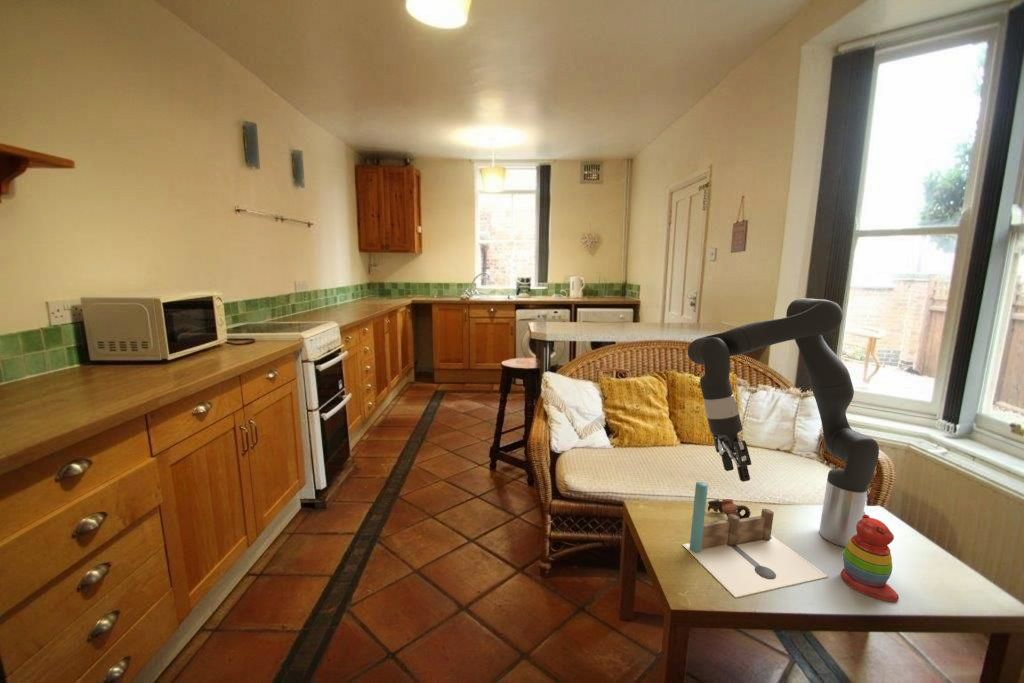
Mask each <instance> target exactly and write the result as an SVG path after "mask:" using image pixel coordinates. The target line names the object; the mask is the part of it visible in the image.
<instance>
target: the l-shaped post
mask: <svg viewBox="0 0 1024 683" xmlns="http://www.w3.org/2000/svg"><path fill="white" fill-rule="evenodd" d="M708 487H709V485H708V484H707V483H706V482H703V481H697V482H696V483H695V487H694V488H695V489H694V501H693V510H692V519H691V520H692V521H691V529H690V530H691V532H690V539H689V540H690V541H689V543H690V549H691V550H692V551H695V552H700V551H701V549H704V548H710V547H715V546H721V545H726V544H727V542H728V533H729V525H730V522H729V521H728V520H727V519H723V520H716V521H712V522H711V521H710V522H706V523H705V518H706V510H707V508H706V507H707V498H708Z"/></svg>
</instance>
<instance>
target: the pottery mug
mask: <svg viewBox="0 0 1024 683" xmlns="http://www.w3.org/2000/svg"><path fill="white" fill-rule="evenodd" d="M707 503H708V507H707V512H710V511H711V509H712V510H713V512H715V513H721V514H724V515H726V517H727V518H728V515H729V514H734V515H736V516H738V517H739V518H740V519H743V518H749V517H751V512H752V511H750V509H749V507H748V506H746V505H738V504H735V503H734V500H733V499H731V498H729V499H728V498H727V499H722V500H719V499H715V500H714V499H713V500H710V501H707ZM742 511H744V514H743V515H742V514H741V512H742Z"/></svg>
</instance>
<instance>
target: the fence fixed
mask: <svg viewBox="0 0 1024 683" xmlns="http://www.w3.org/2000/svg"><path fill="white" fill-rule="evenodd" d="M760 514H761V515H757V516H749V518H743V519H740V518H739V517H738V516H736V515H734V514H729V515H728V517H727V519H726V520H728V521H729V522H730V525H729V533H728V542H727V544H726V545H728V546H730V547H735V546H737V544H739V543H744V542H750V541H755V540H760V539H763V540H765V541H769V540H770V538H771V535H772V530H773V529H772V528H773V523H774V522H773V521H774V514H775V513H774V511H772V510H771V509H768V508H763V509H761V513H760Z"/></svg>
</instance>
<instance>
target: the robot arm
mask: <svg viewBox="0 0 1024 683" xmlns="http://www.w3.org/2000/svg"><path fill="white" fill-rule="evenodd" d="M785 314H786V315H785V317H780V318H775V319H774V318H773V319H768V320H761V321H760V320H759V321H755V322H751V323H747V324H743V325H740V326H737V327H735V328H731V329H729V330H727V331H724V332H719V333H714V334H710V335H706V336H702V337H699V338H696V339H694V340H693V341H692V342H690V343H689V345H688V348H687V357H688V358H689V360H690V361H692V363H695V364H697V365H700V366H701V365H702V366H704V375H702V376H701V377H700V379H699V385H700V389H701V394H702V399H703V404H704V410H705V414H706V418H707V424H708V427H709V431H710V433H711V435H712V438H713V444H714V447H715V448H714V449H715V452H716V453H718V455H719V457H720V458H721V462H722V464H723V469H724V471H726V472H729V471H733V470H734V464H735V466H736V469H737V474H738V477H739V478H738V479H739V481H741V482H743V483H745V482H748V481H751V477H750V472H749V467H748V466H751V465H752V461H751V456H750V452H749V448H748V445H747V442H746V440H745V439H743V440H740V438H739V436H738V433H740V432H742V430H743V425H742V421H741V417H740V413H739V408H738V404H737V400H736V398H735V395H734V393H733V389H732V384H731V381H730V370H731V369H730V368H731V357H732V356H735V357H736V356H741V355H744V354H748V353H750V352H753V351H757V350H761V349H763V348H766V347H769V346H772V345H776V344H779V343H780V344H781V343H785V342H788V341H792V340H793V341H795V344H796V346H797V348H798V351H799V353H800V356H801V359H802V362H803V364H804V365H803V366H804V368H805V370H806V373H807V377H808V381H809V384H810V385H809V386H810V388H811V391H812V394H813V396H814V399H815V403H816V406H817V409H818V413H819V418H820V422H821V427H822V432H823V438H824V439H823V440H824V445H825V446H826V450H827V451H828V452H829V453H830V454H831V456H833V457H835V458H837V459H839V460H841V461H843V462H844V463H845V466H844V468H833V469H830V470H829V471H828V473H827V479H826V486H825V492H824V498H823V505H822V510H821V511H822V512H821V515H820V524H819V531H818V533H819V535H820V537H822V538H823V539H825V540H826V541H828V542H829V543H832V544H835V545H837V546H840V547H844V548H845V547H846V545H847V543H848V541H849V540H850V538H852V537H853V536H854V535H856V534H857V530H856V526H857V523H858V522H859V521H860V520H861V519H862V516H863V515H865V514H866V512H865V506H866V501H867V495H868V490H869V486H870V484H871V482H872V481H873V478H874V476H875V471H876V467H877V464H878V460H879V454H880V447H879V444H878V442H877V441H876V440H875V439H874V438H872V437H870V436H868V435H866V434H863V433H861V432H859V431H857V430H853V429H852V428H851V426H850V424H849V422H848V418H847V410H848V408H849V406H850V405H851V403H852V401H853V398H854V395H855V389H854V385H853V382H852V378H851V375H850V372H849V369H848V367H846V365H845V364H844V362H843V361H842V360H841V358H839V357H838V355H837V354H836V353H835V352H834V351H833V350H832V349H831V348H830V347H829V345H828V344H827V343H826V341H825V339H824V337H823V335H826V334H831V333H832V332H834V331H835V330H838V328H839V327H840V325H841V323H842V321H843V317H844V316H843V315H844V313H843V309H842V308H841V307H840V305H839V304H838V303H837V302H835V301H831V300H828V299H821V298H804V297H802V298H796V299H794V300H793V301H791V302H790V303H789V304H788V307H787V309H786V313H785ZM733 461H734V462H733Z"/></svg>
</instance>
